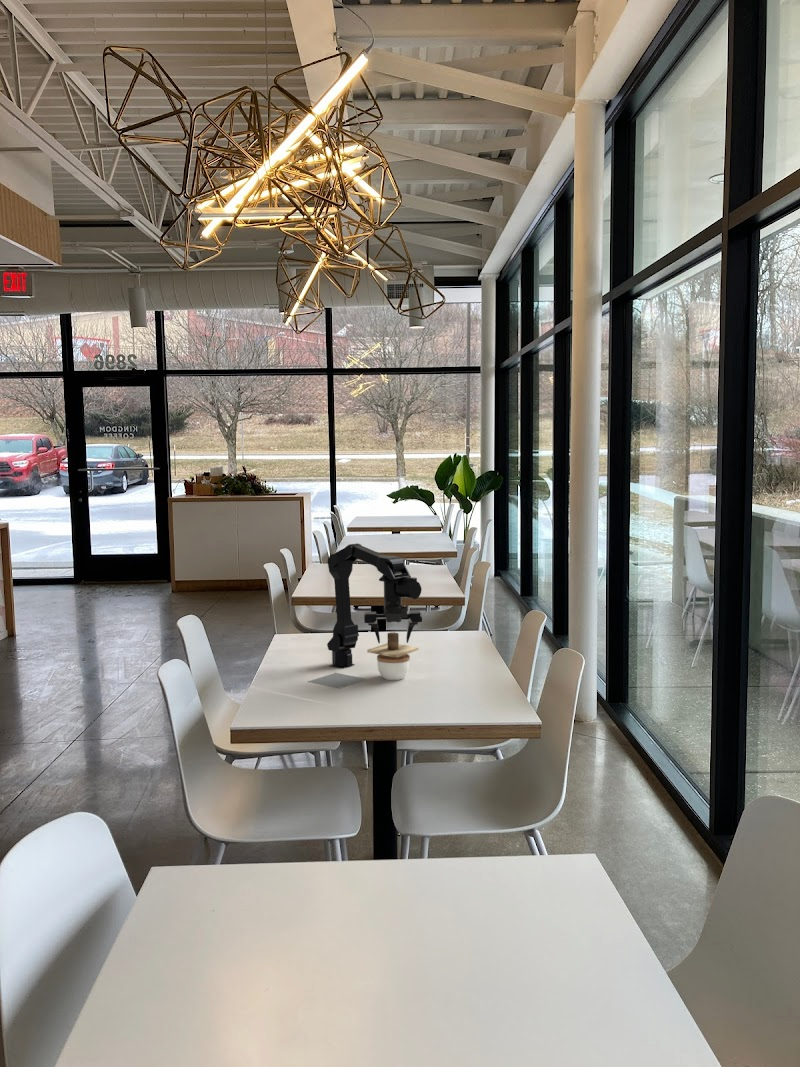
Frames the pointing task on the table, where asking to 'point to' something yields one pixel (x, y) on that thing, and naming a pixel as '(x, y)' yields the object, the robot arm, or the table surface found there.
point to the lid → (393, 647)
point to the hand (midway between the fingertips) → (393, 642)
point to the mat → (337, 680)
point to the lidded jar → (393, 666)
